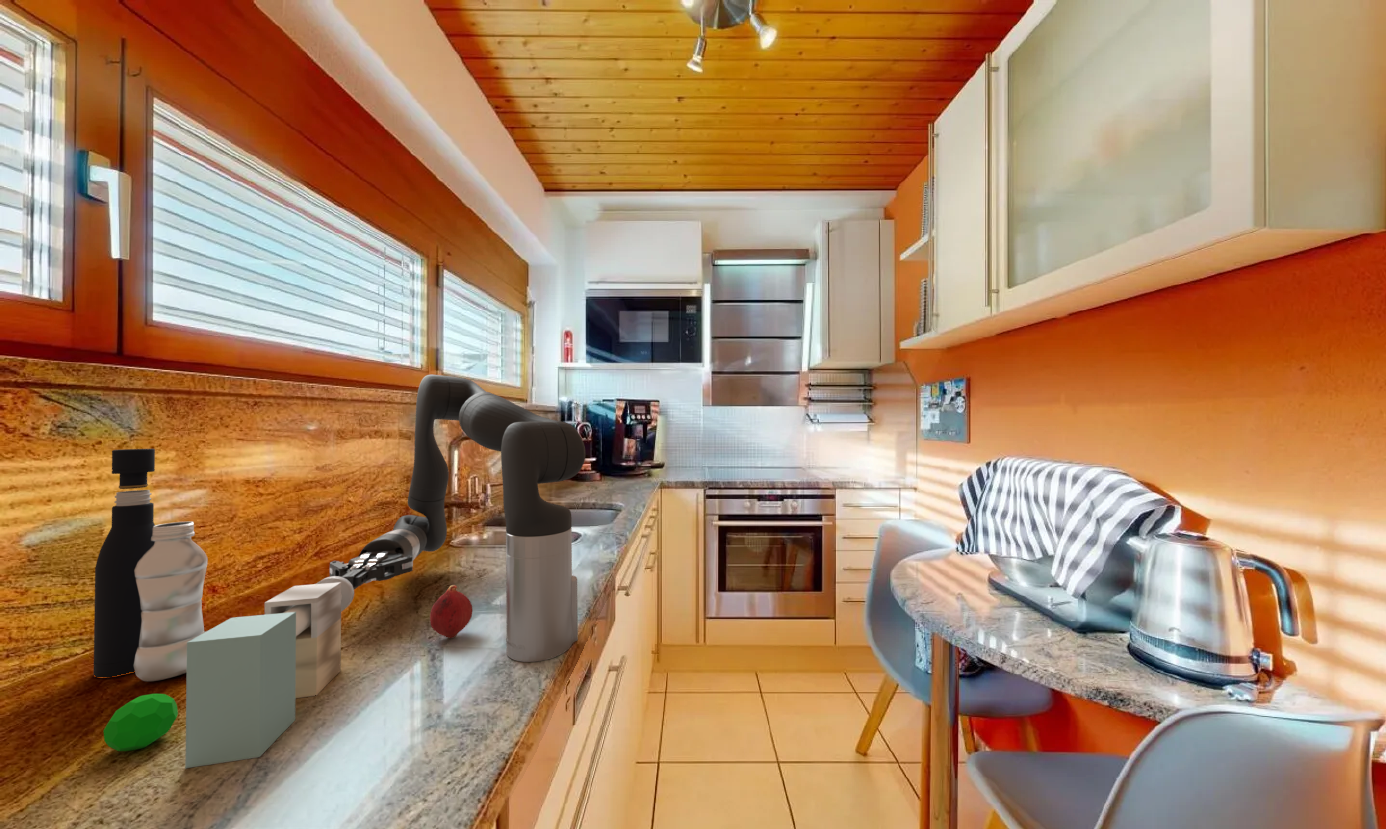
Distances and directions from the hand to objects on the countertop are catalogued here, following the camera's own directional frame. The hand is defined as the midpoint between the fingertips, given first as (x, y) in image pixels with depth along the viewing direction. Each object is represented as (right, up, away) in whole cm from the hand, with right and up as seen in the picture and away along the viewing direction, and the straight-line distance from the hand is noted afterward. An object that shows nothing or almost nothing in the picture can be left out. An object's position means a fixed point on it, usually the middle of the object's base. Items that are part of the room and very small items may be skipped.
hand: (347, 583), depth 71 cm
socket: (+6, -8, -22) cm, 24 cm away
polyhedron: (-5, -9, -22) cm, 25 cm away
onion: (+15, -9, +1) cm, 18 cm away
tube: (+3, -2, -13) cm, 14 cm away
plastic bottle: (-17, -9, -9) cm, 21 cm away
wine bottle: (-25, -9, -6) cm, 28 cm away
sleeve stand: (+3, -9, -11) cm, 15 cm away
